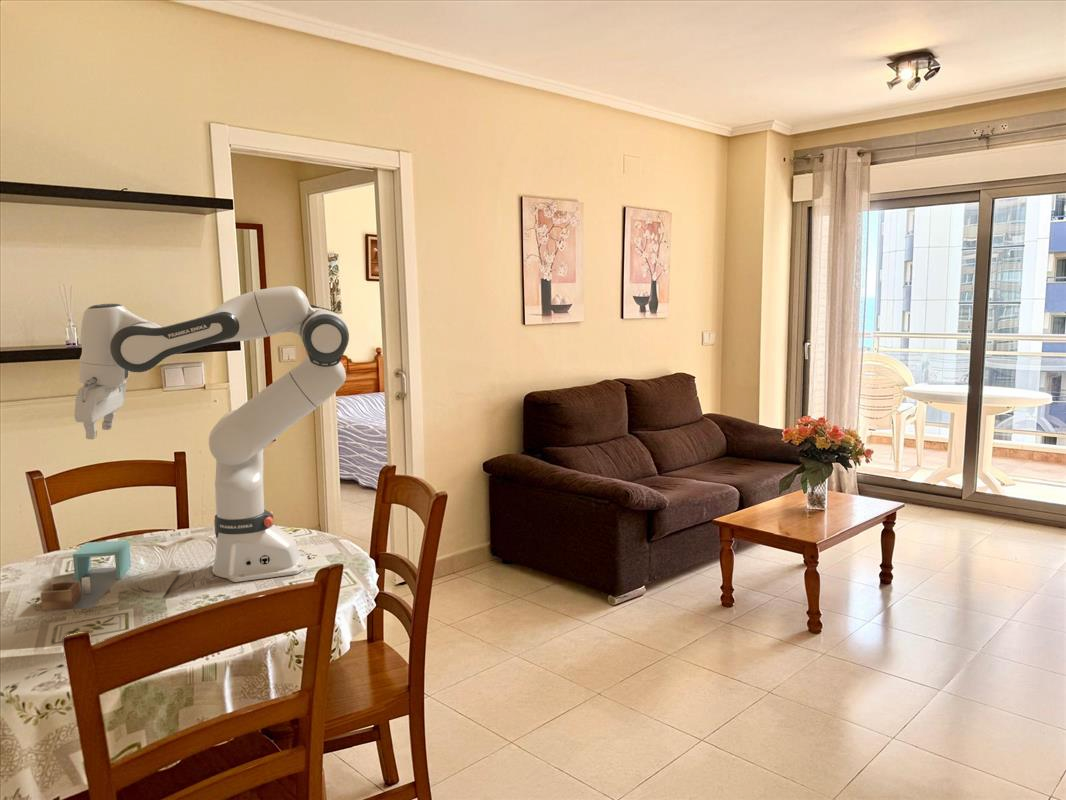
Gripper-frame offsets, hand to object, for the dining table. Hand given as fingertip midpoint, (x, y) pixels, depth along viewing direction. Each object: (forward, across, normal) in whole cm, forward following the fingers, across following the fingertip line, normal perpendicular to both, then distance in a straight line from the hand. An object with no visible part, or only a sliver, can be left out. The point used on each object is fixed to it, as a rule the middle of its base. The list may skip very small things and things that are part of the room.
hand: (99, 433), depth 172 cm
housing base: (+35, -7, -2) cm, 36 cm away
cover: (+34, 0, -2) cm, 34 cm away
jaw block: (+34, -16, 0) cm, 38 cm away
